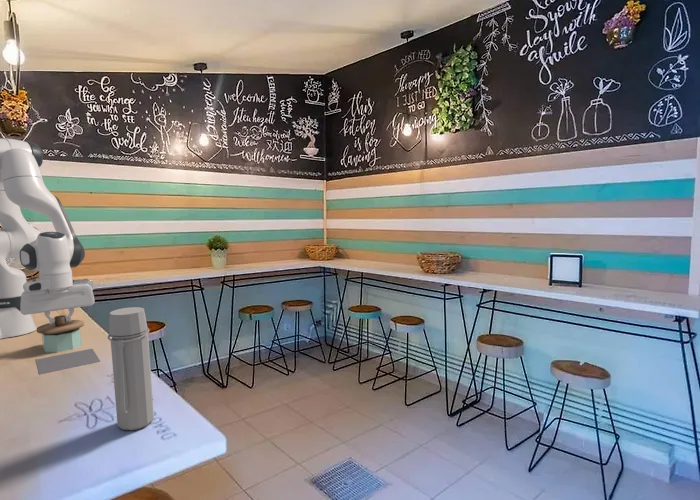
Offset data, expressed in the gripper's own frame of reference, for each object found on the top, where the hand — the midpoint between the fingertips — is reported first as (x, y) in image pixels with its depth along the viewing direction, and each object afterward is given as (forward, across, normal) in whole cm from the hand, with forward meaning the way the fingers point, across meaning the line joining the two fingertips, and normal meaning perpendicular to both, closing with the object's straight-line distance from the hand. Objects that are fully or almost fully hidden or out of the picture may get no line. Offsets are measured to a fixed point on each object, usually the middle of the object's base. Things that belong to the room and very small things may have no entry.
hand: (60, 323), depth 142 cm
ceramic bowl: (+9, 0, 0) cm, 9 cm away
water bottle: (+9, -6, +71) cm, 71 cm away
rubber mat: (+9, 0, +16) cm, 18 cm away
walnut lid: (+2, 0, 0) cm, 2 cm away
